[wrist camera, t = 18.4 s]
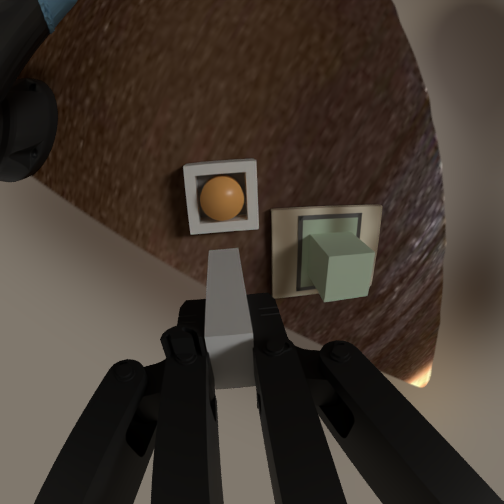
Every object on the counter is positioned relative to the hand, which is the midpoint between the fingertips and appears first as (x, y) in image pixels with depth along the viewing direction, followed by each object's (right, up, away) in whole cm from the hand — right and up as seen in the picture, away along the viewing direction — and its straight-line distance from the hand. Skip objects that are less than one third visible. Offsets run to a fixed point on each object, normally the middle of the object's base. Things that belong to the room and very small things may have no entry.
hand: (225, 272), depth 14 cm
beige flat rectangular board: (+12, +1, +23) cm, 26 cm away
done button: (-2, +8, +18) cm, 20 cm away
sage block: (+12, +1, +23) cm, 26 cm away
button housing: (-2, +8, +19) cm, 20 cm away
